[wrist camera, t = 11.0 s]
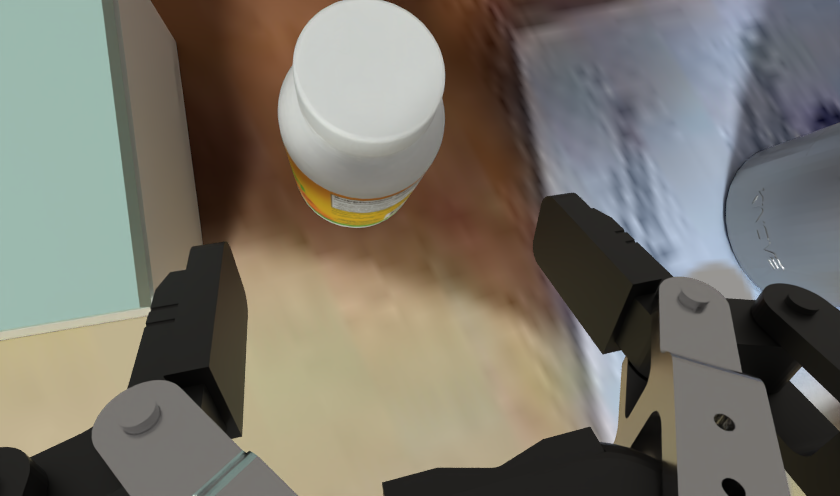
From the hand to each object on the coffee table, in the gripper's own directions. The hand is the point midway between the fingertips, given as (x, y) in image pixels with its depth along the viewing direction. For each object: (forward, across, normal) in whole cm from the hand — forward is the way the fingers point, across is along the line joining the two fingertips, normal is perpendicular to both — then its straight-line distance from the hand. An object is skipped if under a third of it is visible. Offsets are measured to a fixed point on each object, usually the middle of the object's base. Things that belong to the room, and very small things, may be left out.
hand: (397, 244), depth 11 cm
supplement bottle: (+10, 0, +4) cm, 11 cm away
